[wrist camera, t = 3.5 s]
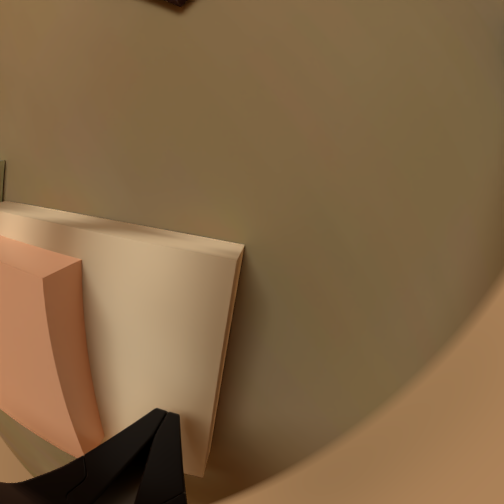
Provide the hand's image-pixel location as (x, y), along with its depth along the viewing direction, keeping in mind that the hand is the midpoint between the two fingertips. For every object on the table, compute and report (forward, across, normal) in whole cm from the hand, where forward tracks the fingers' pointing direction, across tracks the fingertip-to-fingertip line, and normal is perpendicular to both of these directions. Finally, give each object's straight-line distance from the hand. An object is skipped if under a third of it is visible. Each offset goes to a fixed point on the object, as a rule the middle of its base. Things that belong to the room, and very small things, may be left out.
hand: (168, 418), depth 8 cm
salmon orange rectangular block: (+1, +7, 0) cm, 7 cm away
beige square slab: (+3, +5, 0) cm, 6 cm away
